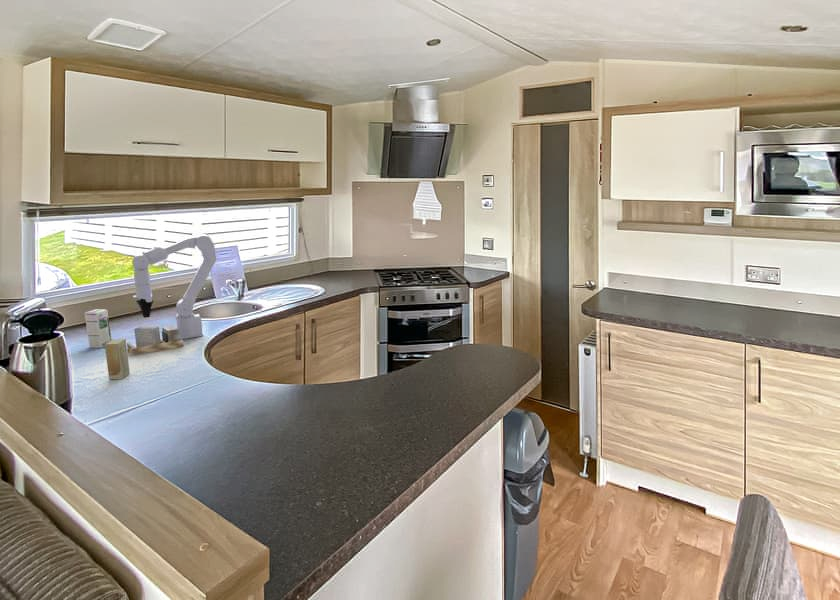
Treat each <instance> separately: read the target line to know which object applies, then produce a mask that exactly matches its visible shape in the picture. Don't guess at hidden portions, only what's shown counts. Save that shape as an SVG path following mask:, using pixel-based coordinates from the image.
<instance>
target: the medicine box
mask: <svg viewBox="0 0 840 600" xmlns="http://www.w3.org/2000/svg"><path fill="white" fill-rule="evenodd" d="M160 332H161V331H160V327H159V326H158V325H157V326H156V325H155V326H154V325H149V326H148V325H141V326H138V327H135V328H134V336H135V344H136V345H135V348H137V347H143V346H149V345H155V344H161V339H162V338H161V333H160Z"/></svg>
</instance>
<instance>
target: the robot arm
mask: <svg viewBox="0 0 840 600" xmlns="http://www.w3.org/2000/svg"><path fill="white" fill-rule="evenodd" d="M196 247H197V249H198V250H199V251H200V253H201V256H202V258H203V259H202V260H201V263H200V264H199V266H198V268H197V270H196V272H195V274H194V276H193V278H192V280H191V282H190V284H189V285H188V288H187V290H186V291H185V293H184V294H183V296H182V297H181V298H180V299H178V300H177V302H176V305H175V306H176V313H177V314H175V319H176V328H178V329H179V339H180V340H184V339H185V340H186V339H191V338H197V337H203V336H204V334H203V324H202V318H201V316H200V314H199V313H197V314H195V312H194V305H195V303H196V301H197V297H198V295H199V294H200V291H201V290H202V287H203V285H204V284H205V282H206V280H207V278H208V276H209V274H210V273H211V271H212V269H213V267H214V265H215V263H216V260H217V255H216V248H215V247H216V246H215V243H214V242H213V240H212V238H211V237H210V236H209V235H207V234H205V233H200V234H198V235H193V236H189V237H185V238H183V239H182V240H179V241H178V242H175V243H172V244H170V245H168V246H166V247H164V246H161V245H159V246H158V245H155V246H153V248H152V249H149V250H147V251H142V252H141V254H136V255H134V257H133V259H132V261H131V264H132V266H133V276H134V277H133V278H134V287H135V295H133V296H132V298H133V299H138V300H135V301H136V303H137V304H138V306H139V308H140V312H141V314H142V317H143V318H144V319H145V318H150V317H151V309H152V306H153V304H154V299H153V298H152V297H153V296H154V295H153V292H152V291H153V290H152V283H151V273H150V270H149V269H150V268H149V266H150V265H151V266H154V265H156V264H158V263H160V262H162V261H165V260H168V258H169V255H171V254H174V253H177V252H180V251H182V250H186V249H196Z"/></svg>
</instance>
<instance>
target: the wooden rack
mask: <svg viewBox="0 0 840 600" xmlns="http://www.w3.org/2000/svg"><path fill="white" fill-rule="evenodd" d="M160 339H161V344H155V345H149V346H143V347H136V346H134V345H133V344H132V343H131V342H129V343H127V342H126V346H127V351H129V353H130V356H135V355H142V354H147V353H152V352H154V353H155V352H159V351H163V350H169V349H175V348H176V349H177V348H181V347H185V345H184V339H179V329H178V328H177V326H174V325H167V326H161V338H160Z"/></svg>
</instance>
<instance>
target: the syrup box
mask: <svg viewBox="0 0 840 600" xmlns="http://www.w3.org/2000/svg"><path fill="white" fill-rule="evenodd" d="M84 319H85V323H86V324H85V325H86V331H87V339H88V344H89V345H88V346H89V348H91V349H103V348H105V344H106V343H108V342H109V341H111V340H112V334H111V327H110V319H109V312H108V309H105V308H100V309H99V308H98V309H97V308H96V309H93V310H89V311H85V312H84Z"/></svg>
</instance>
